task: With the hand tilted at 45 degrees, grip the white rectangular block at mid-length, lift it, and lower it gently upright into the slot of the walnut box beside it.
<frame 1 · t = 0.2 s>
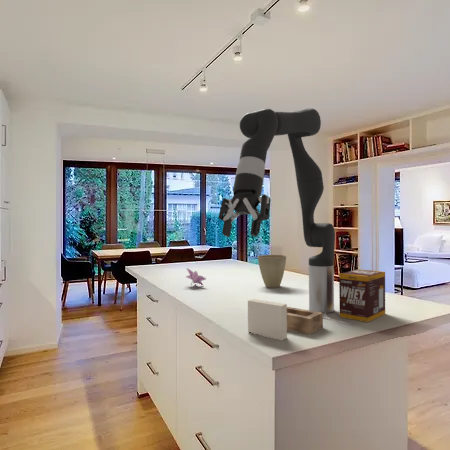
hand: (239, 235, 92), 31 cm above the table, tool tilted 20°, fingers open, 8 cm apart
plant pot: (272, 286, 188), on the table
scissors: (328, 320, 125), on the table
white rectangular block: (267, 335, 109), on the table
lily: (195, 287, 189), on the table
supplement box: (362, 316, 129), on the table
walnut box: (288, 325, 119), on the table
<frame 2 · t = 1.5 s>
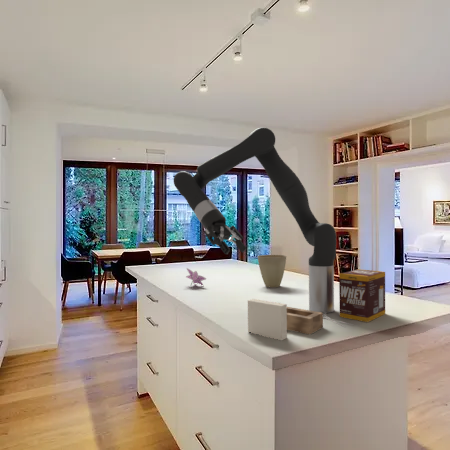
hand: (236, 251, 116), 25 cm above the table, tool tilted 45°, fingers open, 8 cm apart
nothing on the table moved.
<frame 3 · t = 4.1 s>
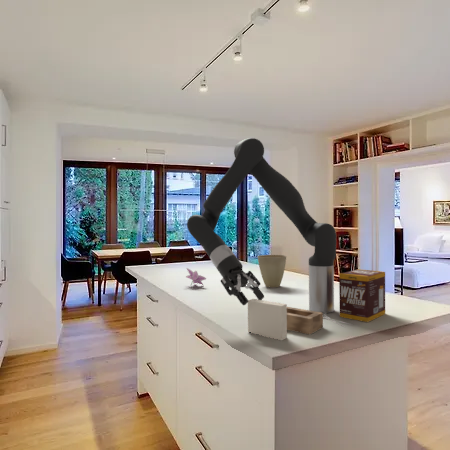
hand: (254, 301, 112), 10 cm above the table, tool tilted 45°, fingers open, 8 cm apart
nothing on the table moved.
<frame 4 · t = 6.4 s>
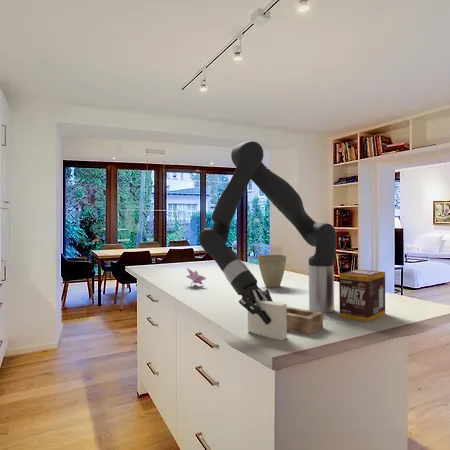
hand: (272, 321, 107), 5 cm above the table, tool tilted 45°, fingers closed on white rectangular block, 3 cm apart
white rectangular block: (266, 335, 109), on the table, touching gripper
everything else where it was.
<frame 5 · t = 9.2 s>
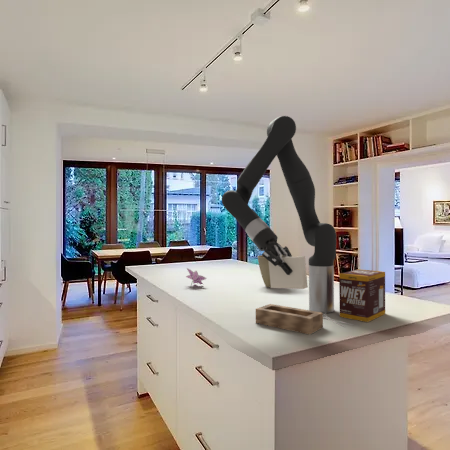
hand: (293, 272, 116), 18 cm above the table, tool tilted 45°, fingers closed on white rectangular block, 3 cm apart
white rectangular block: (288, 287, 117), point 13 cm above the table, touching gripper
everything else where it was.
when the fingers open (7 cm above the table, at t = 12.2 s): white rectangular block drops 1 cm, resting on walnut box.
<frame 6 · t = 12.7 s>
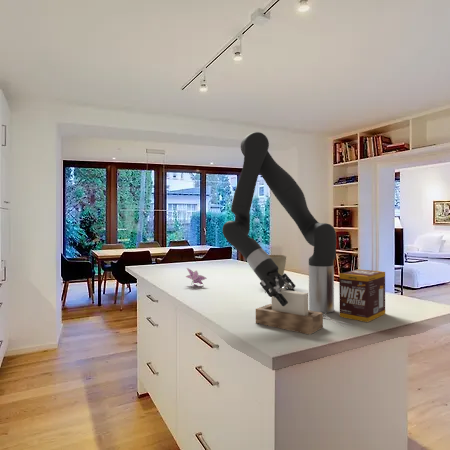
hand: (292, 302, 117), 8 cm above the table, tool tilted 45°, fingers open, 7 cm apart
white rectangular block: (289, 321, 118), point 1 cm above the table, touching walnut box
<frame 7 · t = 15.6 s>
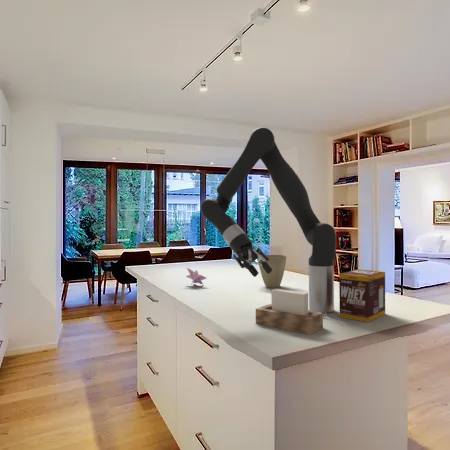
hand: (263, 273, 124), 16 cm above the table, tool tilted 45°, fingers open, 8 cm apart
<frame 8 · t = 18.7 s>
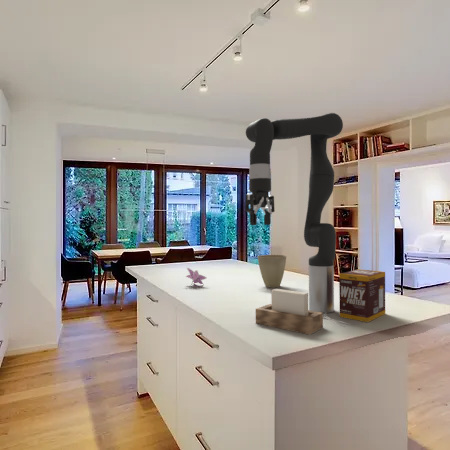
hand: (260, 224, 125), 33 cm above the table, tool pointing down, fingers open, 8 cm apart
at the end: white rectangular block inside the target area on the walnut box (0.4 cm from its centre), point 1.2 cm above the walnut box's base; white rectangular block tilted 0°; the gripper is holding nothing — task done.
